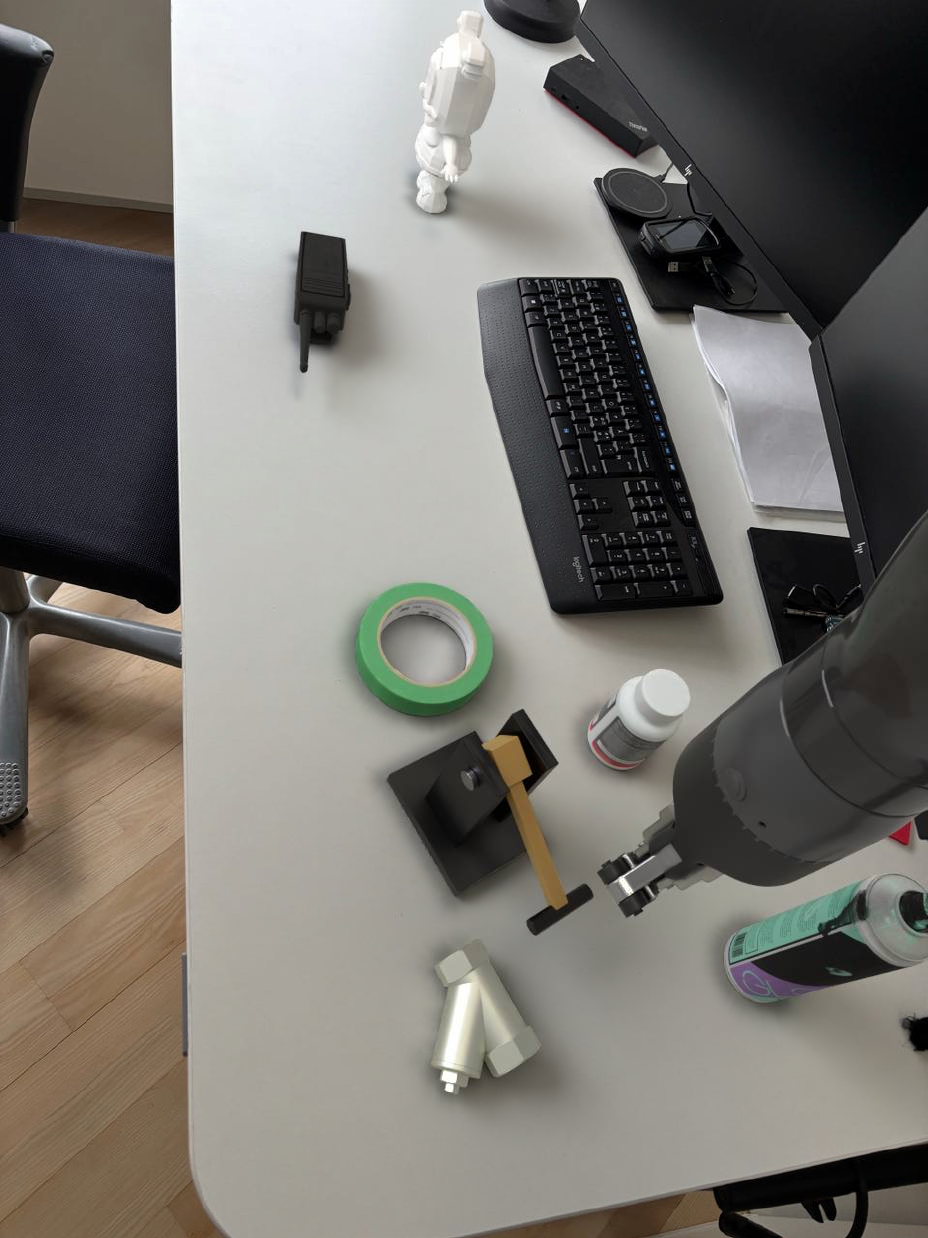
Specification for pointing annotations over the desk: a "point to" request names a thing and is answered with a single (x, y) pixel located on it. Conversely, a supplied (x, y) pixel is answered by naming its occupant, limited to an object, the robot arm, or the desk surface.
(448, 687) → the tape roll
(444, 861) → the black mounting base
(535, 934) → the faucet lever
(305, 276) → the walkie-talkie
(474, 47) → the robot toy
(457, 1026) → the pipe fitting
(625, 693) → the pill bottle
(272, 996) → the desk surface
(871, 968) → the spray can
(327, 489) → the desk surface
